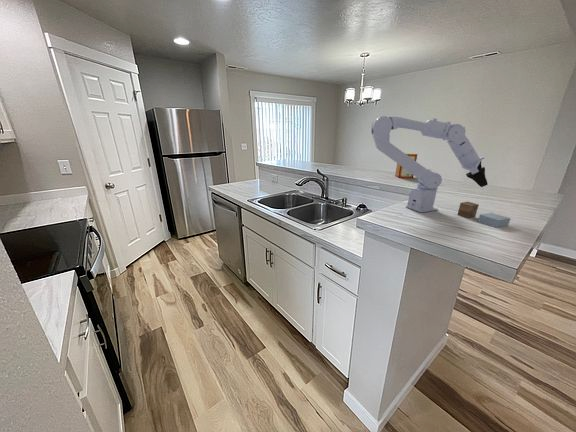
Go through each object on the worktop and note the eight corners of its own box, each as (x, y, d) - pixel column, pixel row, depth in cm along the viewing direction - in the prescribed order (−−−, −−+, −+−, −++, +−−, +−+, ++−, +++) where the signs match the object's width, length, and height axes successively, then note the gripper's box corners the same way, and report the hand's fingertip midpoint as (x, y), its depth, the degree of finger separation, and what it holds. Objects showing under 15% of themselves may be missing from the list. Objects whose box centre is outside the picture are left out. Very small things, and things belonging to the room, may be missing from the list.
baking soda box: (409, 176, 164) (413, 152, 158) (412, 178, 158) (417, 153, 152) (395, 176, 165) (398, 152, 159) (398, 177, 159) (402, 153, 153)
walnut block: (467, 218, 87) (471, 205, 85) (457, 215, 91) (460, 202, 89) (475, 217, 89) (478, 204, 87) (464, 213, 92) (467, 201, 90)
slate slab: (496, 228, 79) (499, 220, 78) (477, 222, 84) (480, 214, 83) (507, 226, 81) (510, 218, 80) (488, 220, 86) (491, 212, 85)
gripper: (480, 152, 80) (499, 184, 82) (474, 141, 90) (492, 169, 92) (456, 163, 85) (475, 193, 86) (454, 151, 95) (471, 178, 97)
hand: (482, 181), depth 90 cm, fingers open, 7 cm apart
